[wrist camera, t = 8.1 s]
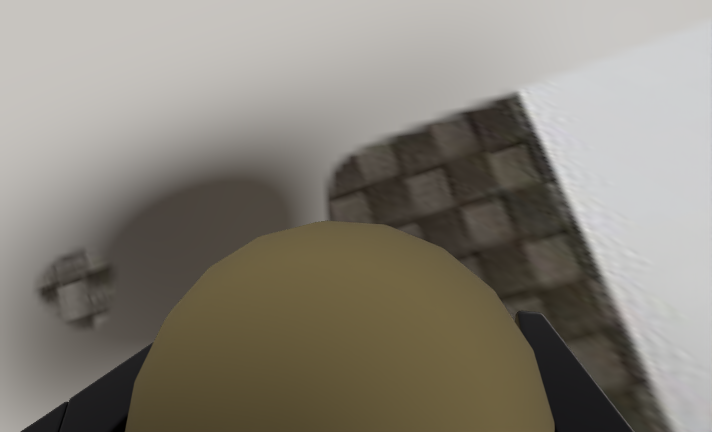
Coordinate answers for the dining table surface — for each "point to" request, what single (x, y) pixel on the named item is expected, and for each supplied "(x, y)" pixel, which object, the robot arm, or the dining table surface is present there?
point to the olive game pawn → (339, 343)
